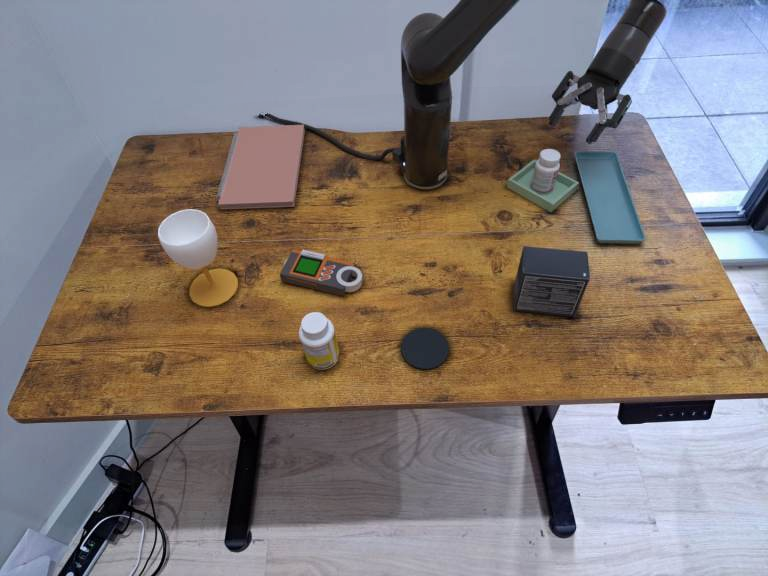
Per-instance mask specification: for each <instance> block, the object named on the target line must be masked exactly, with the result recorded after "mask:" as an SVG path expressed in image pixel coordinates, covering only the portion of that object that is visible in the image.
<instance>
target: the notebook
mask: <svg viewBox="0 0 768 576" xmlns="http://www.w3.org/2000/svg"><path fill="white" fill-rule="evenodd" d="M305 132H306V128H304V125H290V124H286V125H264V126H263V125H261V126H260V125H259V126H239V127H238V130H237V132H235V133H233V137H232V139H231V144H230V146H229V147H230V148H229V151H228V155H227V158H226V161H225V165H224V169H223V172H222V175H221V179H220V182H219V187H218V189H217V193H216V196H215V197H216V198H215V199H216V201H217V202H218V204H217V205H218V206H219V210H222V211H223V210H244V209H245V210H247V209H273V208H294V207H295V206H296V205H295V203H296V196H297V190H298V183H299V177H300V176H299V175H300V168H301V162H302V155H303V148H304V140H305V134H306V133H305Z"/></svg>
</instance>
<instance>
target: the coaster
mask: <svg viewBox="0 0 768 576" xmlns="http://www.w3.org/2000/svg"><path fill="white" fill-rule="evenodd" d="M400 353H401V355H402V358H403V359H404V361H405V362H406V363H407V364H408V365H409V366H411V367H413V368H415V369H417V370H420V371H431V370H434V369H437V368H439V367H441V366H442V365H443V364H444V363H445V362H446V361H447V359H448V357H449V354H450V343H449V341H448V339H447V337H446V336H445V335H444V334H443V333H442V332H440V331H439V330H437V329H435V328H432V327H425V326H423V327H418V328H414V329H412V330H410V331H408V333H407V334H405V336H404V337H403V339H402V340H401V344H400Z"/></svg>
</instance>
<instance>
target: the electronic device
mask: <svg viewBox="0 0 768 576" xmlns="http://www.w3.org/2000/svg"><path fill="white" fill-rule="evenodd" d="M279 276H280V281H281V282H282V283H287V284H291V285H294V286H299V287H303V288H307V289H312V290H315V291H320V292H325V293H327V294H333V295H337V296H340V297H345V295H346V293H354V292H357V291H358V290H359V289H360V288H362V285H363V274H362V271H361V270H360V269H359V268H358V267H356V263H355V262H352V261H347V260H342V259H338V258H334V257H329V256H327V255H326V253H325V254H324V253H319V252H315V251H311V250H306V249H302V250H299V249H295V248H293V249H292V250H291V251H290V254H289V255H288V258H286V259H285V261H284V263H283V267H282V269H281V271H280V272H279ZM353 277H354V278H356V279H354V280H353V281H352V278H353Z"/></svg>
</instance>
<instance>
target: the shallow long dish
mask: <svg viewBox="0 0 768 576" xmlns="http://www.w3.org/2000/svg"><path fill="white" fill-rule="evenodd" d="M573 154H574V159H575V162H576V166H577V169H578V173H579V178H580V182H581V185H582V188H583V194H584V196H585V200H586V204H587V207H588V212H589V215H590V218H591V222H592V227H593V229H594V233H595V238H596V242H597V243H599V244H618V245H619V244H621V245H624V244H625V245H636V244H640V243H644V242H645V241H646V240H647V237H646V234H645V231H644V229H643V226H642V223H641V219H640V217H639V214H638V211H637V209H636V204H635V202H634V200H633V196H632V193H631V189H630V188H629V184H628V181H627V179H626V176H625V173H624V170H623V167H622V165H621V160H620V157H619V155H618V153H617V151H614V150H613V151H612V150H609V151H606V150H605V151H604V150H602V151H600V150H599V151H594V150H592V151H589V150H587V151H585V150H584V151H579V150H578V151H577V150H576V151H574V152H573Z"/></svg>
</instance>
